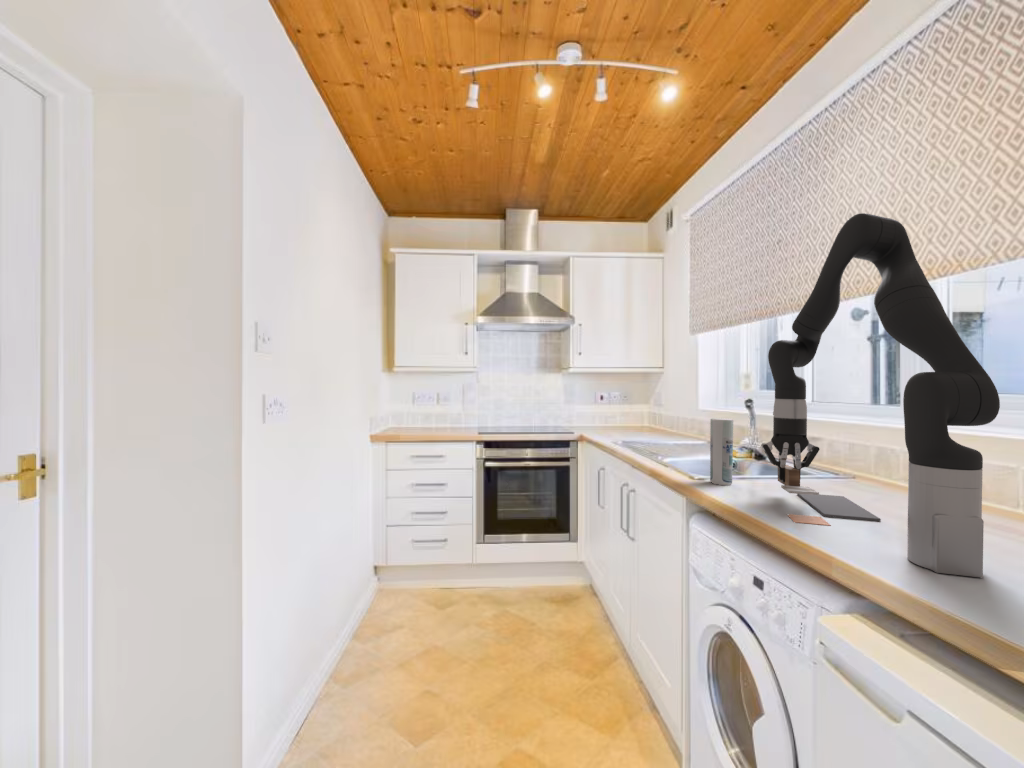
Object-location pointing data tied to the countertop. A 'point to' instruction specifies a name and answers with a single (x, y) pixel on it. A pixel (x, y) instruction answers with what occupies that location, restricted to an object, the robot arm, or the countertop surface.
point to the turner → (795, 482)
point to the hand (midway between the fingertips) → (789, 482)
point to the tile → (808, 520)
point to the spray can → (721, 451)
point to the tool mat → (837, 507)
